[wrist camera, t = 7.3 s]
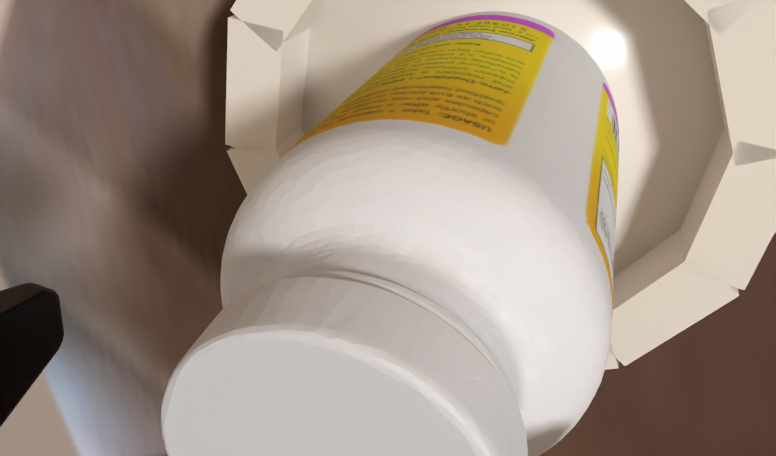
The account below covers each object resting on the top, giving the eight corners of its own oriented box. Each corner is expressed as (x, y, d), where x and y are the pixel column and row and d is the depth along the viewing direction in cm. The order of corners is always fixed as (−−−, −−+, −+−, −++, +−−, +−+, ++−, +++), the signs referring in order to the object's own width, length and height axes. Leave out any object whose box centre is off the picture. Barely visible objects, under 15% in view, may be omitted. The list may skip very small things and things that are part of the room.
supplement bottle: (339, 115, 20) (11, 406, 10) (504, -52, 17) (278, 116, 6) (488, 271, 21) (341, 695, 11) (675, 144, 18) (737, 587, 7)
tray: (678, 402, 22) (683, 462, 20) (239, 264, 25) (202, 302, 23) (958, -145, 14) (1018, -145, 12) (259, -255, 17) (205, -271, 15)
